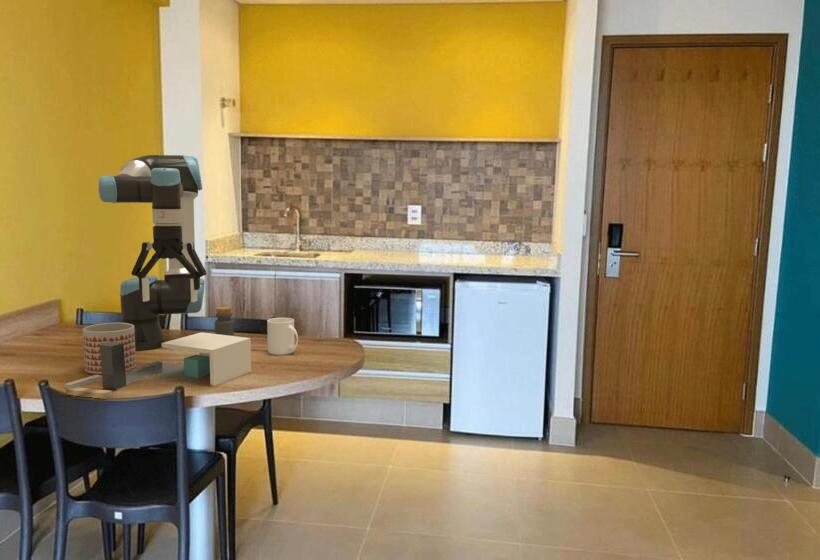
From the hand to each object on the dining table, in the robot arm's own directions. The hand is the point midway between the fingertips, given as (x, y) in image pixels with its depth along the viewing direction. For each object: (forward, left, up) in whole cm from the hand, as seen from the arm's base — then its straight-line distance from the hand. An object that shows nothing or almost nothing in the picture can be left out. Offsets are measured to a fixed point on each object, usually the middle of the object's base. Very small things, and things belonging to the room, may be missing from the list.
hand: (170, 301), depth 184 cm
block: (+6, +3, -21) cm, 22 cm away
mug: (+12, +37, -22) cm, 44 cm away
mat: (-2, +3, -22) cm, 22 cm away
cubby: (+8, +5, -22) cm, 24 cm away
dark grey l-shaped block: (-6, -8, -21) cm, 24 cm away
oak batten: (-6, -23, -22) cm, 32 cm away
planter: (-22, -2, -22) cm, 31 cm away
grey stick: (-16, -16, -22) cm, 32 cm away
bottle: (-5, +28, -22) cm, 36 cm away
